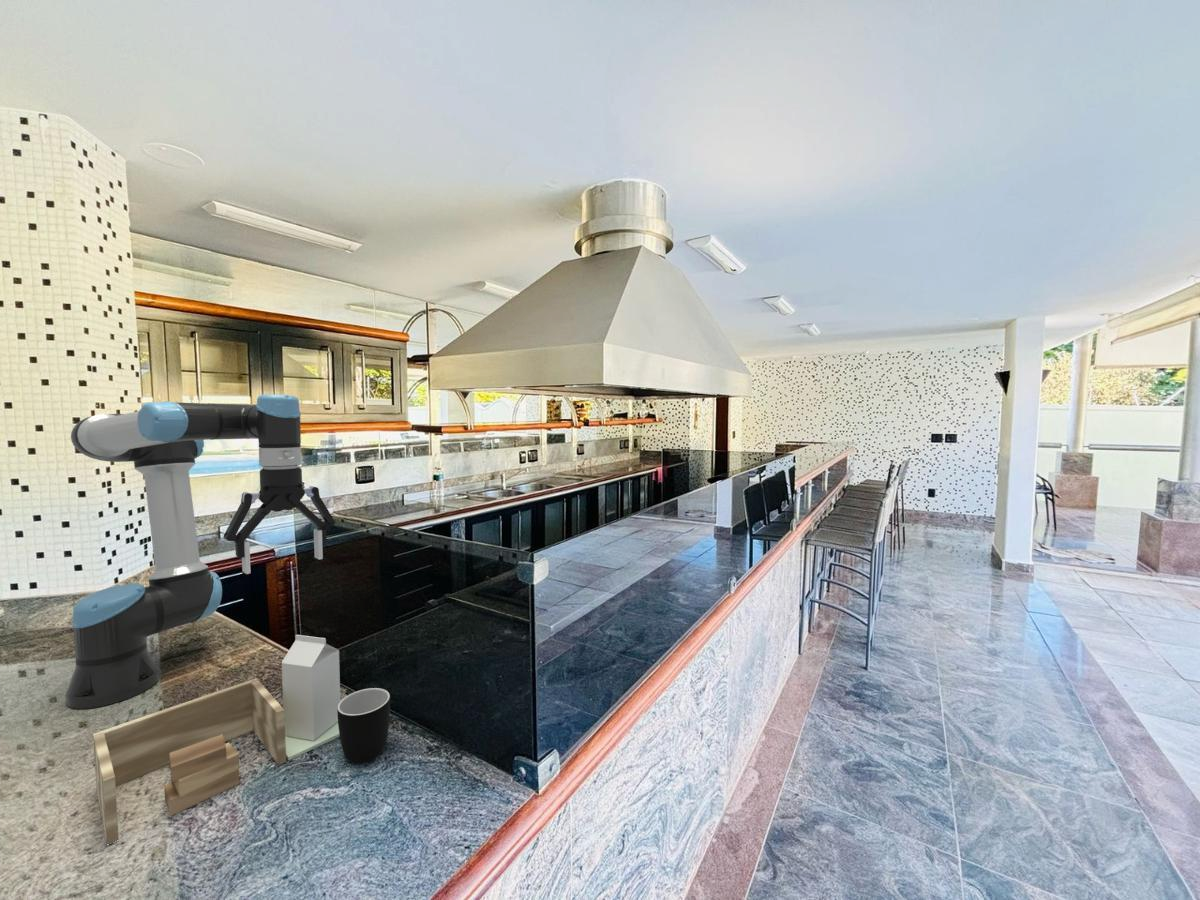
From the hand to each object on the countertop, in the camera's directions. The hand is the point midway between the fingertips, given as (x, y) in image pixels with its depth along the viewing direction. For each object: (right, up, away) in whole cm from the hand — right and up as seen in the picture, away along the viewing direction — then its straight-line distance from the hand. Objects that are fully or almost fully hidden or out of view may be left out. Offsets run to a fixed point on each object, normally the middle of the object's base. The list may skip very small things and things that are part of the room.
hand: (284, 565), depth 104 cm
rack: (-4, -33, -19) cm, 38 cm away
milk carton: (+10, -32, -6) cm, 34 cm away
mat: (+10, -32, -6) cm, 34 cm away
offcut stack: (+1, -33, -22) cm, 40 cm away
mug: (+22, -33, -12) cm, 41 cm away
